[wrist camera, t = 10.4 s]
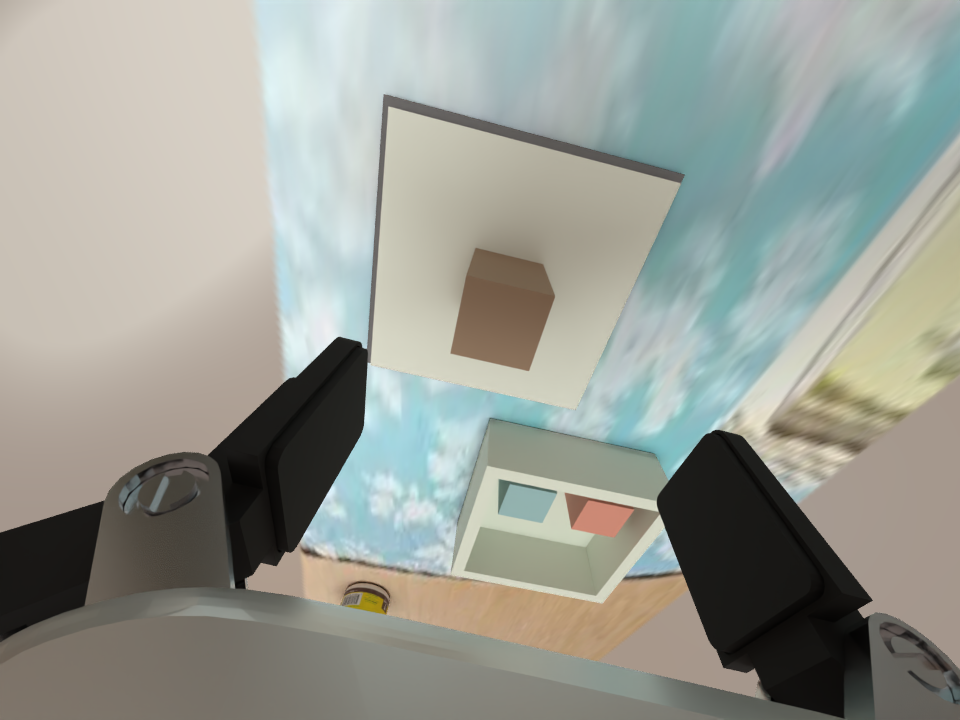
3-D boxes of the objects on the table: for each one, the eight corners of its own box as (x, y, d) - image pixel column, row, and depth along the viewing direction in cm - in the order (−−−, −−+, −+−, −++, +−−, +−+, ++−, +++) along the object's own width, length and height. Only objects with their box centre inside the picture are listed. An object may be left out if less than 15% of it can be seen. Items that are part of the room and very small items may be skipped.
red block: (620, 472, 29) (634, 509, 26) (603, 499, 31) (614, 537, 27) (579, 463, 29) (588, 500, 25) (564, 491, 30) (571, 529, 27)
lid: (672, 182, 18) (748, 191, 13) (573, 401, 26) (592, 468, 20) (394, 109, 17) (341, 83, 12) (375, 358, 25) (337, 415, 19)
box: (654, 453, 28) (681, 506, 24) (590, 549, 35) (602, 603, 31) (489, 418, 28) (487, 465, 23) (457, 523, 34) (450, 574, 30)
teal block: (551, 457, 28) (557, 494, 25) (538, 485, 30) (542, 523, 27) (509, 448, 28) (509, 484, 25) (498, 477, 30) (497, 514, 27)
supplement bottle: (382, 608, 44) (351, 719, 36) (341, 595, 43) (299, 706, 34) (397, 590, 42) (368, 704, 33) (354, 575, 41) (312, 690, 32)
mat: (681, 174, 18) (684, 174, 18) (574, 405, 26) (575, 408, 26) (386, 95, 17) (383, 94, 17) (368, 359, 25) (366, 362, 25)
